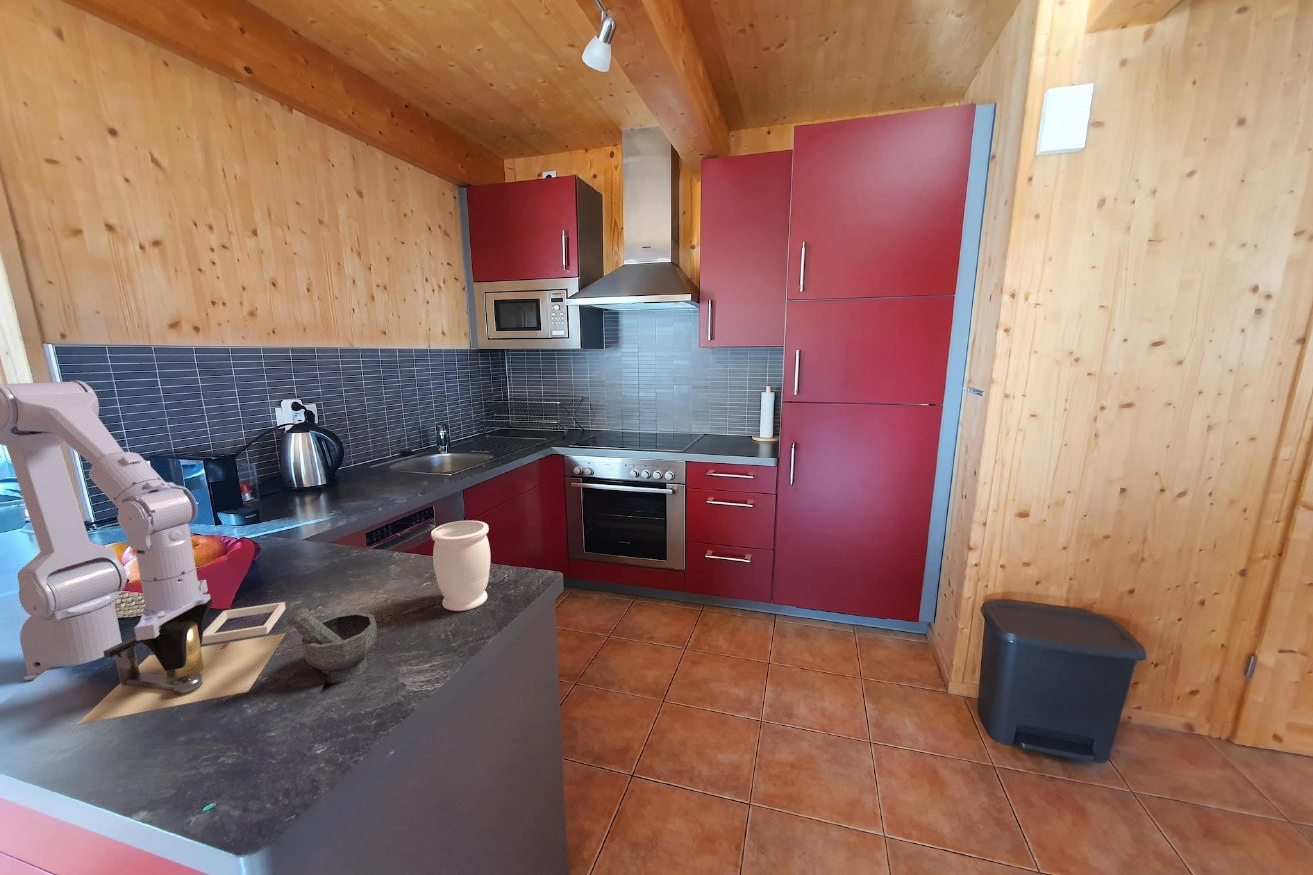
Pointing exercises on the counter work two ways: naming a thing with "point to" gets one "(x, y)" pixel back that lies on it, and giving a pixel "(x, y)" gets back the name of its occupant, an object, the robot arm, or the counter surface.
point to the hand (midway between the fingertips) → (183, 659)
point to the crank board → (221, 675)
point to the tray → (213, 637)
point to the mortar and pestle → (336, 642)
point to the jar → (462, 563)
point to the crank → (132, 676)
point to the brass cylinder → (190, 655)
